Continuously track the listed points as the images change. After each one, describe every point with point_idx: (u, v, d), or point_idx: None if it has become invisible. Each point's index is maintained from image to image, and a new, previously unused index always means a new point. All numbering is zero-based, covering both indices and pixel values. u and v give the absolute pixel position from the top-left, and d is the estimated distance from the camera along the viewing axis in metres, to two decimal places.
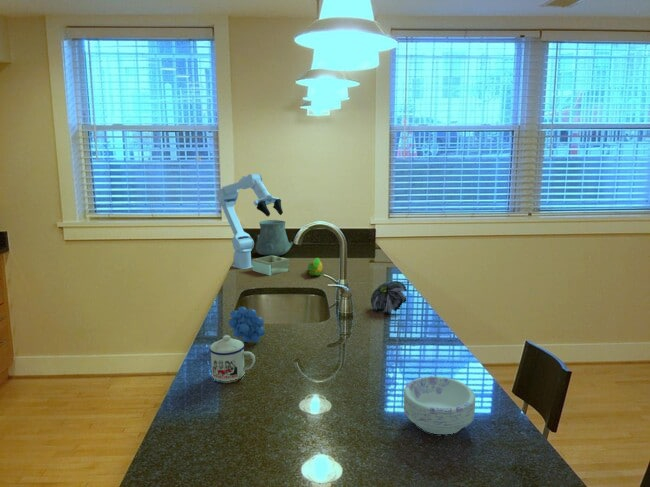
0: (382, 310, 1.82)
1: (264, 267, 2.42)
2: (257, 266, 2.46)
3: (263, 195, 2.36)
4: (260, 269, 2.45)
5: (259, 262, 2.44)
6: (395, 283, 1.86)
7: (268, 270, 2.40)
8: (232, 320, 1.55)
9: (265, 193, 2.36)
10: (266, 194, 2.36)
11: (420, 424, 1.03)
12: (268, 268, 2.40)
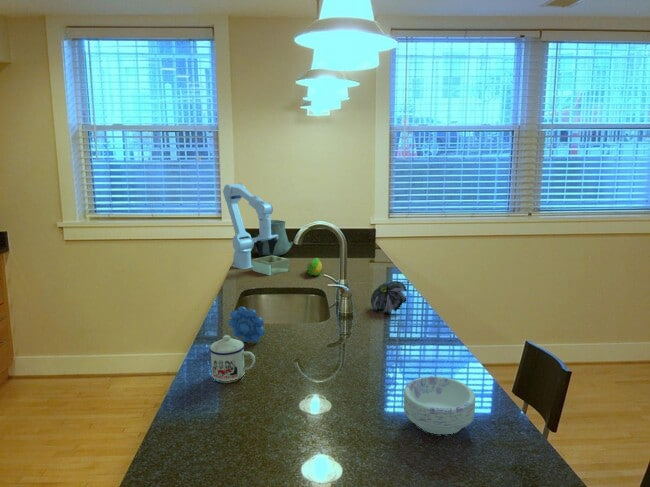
0: (382, 310, 1.82)
1: (264, 267, 2.42)
2: (257, 266, 2.46)
3: (264, 234, 2.41)
4: (260, 269, 2.45)
5: (259, 262, 2.44)
6: (395, 283, 1.86)
7: (268, 270, 2.40)
8: (232, 320, 1.55)
9: (267, 233, 2.41)
10: (267, 234, 2.41)
11: (420, 424, 1.03)
12: (268, 268, 2.40)
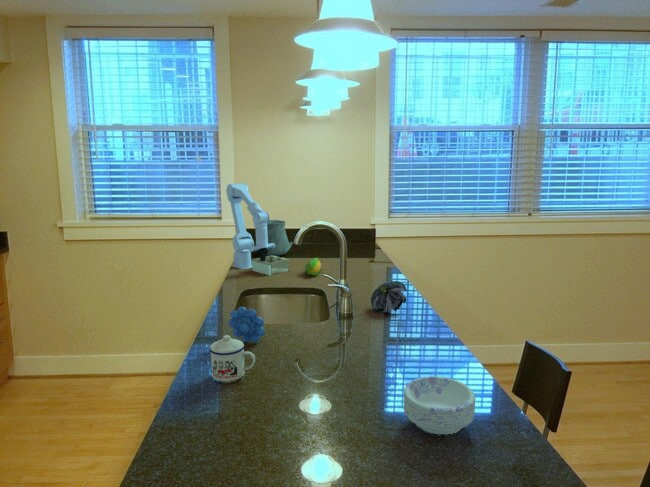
0: (382, 310, 1.82)
1: (264, 267, 2.42)
2: (257, 266, 2.46)
3: (261, 243, 2.40)
4: (260, 269, 2.45)
5: (259, 262, 2.44)
6: (395, 283, 1.86)
7: (268, 270, 2.40)
8: (232, 320, 1.55)
9: (263, 242, 2.40)
10: (264, 243, 2.40)
11: (420, 424, 1.03)
12: (268, 268, 2.40)
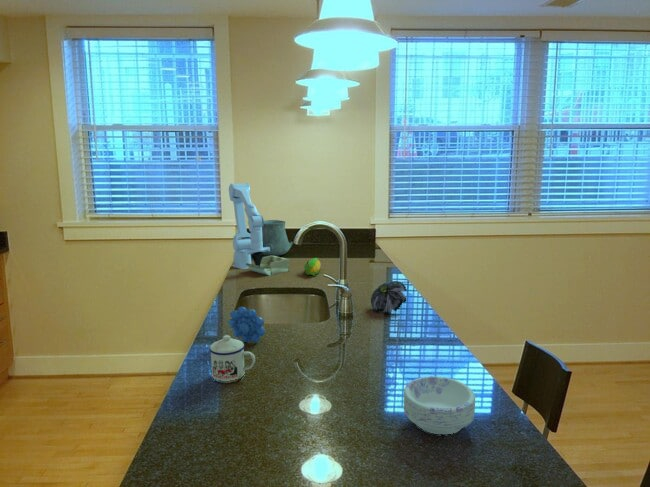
0: (382, 310, 1.82)
1: (260, 270, 2.41)
2: (254, 269, 2.45)
3: (256, 247, 2.38)
4: (258, 271, 2.44)
5: (253, 267, 2.42)
6: (395, 283, 1.86)
7: (266, 273, 2.39)
8: (232, 320, 1.55)
9: (258, 245, 2.38)
10: (259, 247, 2.38)
11: (420, 424, 1.03)
12: (264, 272, 2.38)
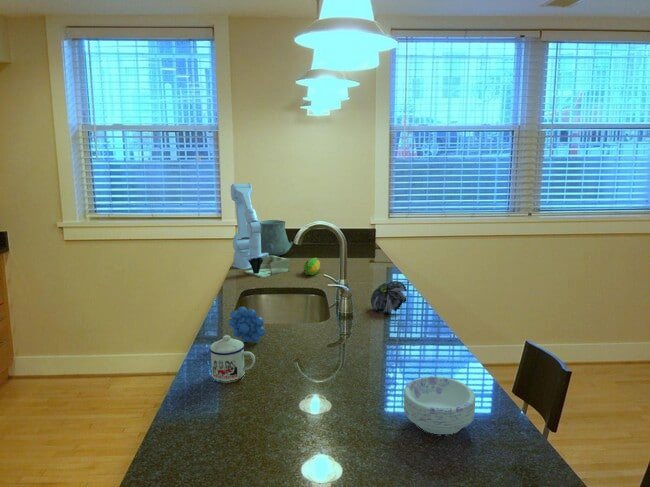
0: (382, 310, 1.82)
1: None
2: None
3: (254, 253, 2.38)
4: None
5: None
6: (395, 283, 1.86)
7: None
8: (232, 320, 1.55)
9: (257, 251, 2.38)
10: (257, 253, 2.38)
11: (420, 424, 1.03)
12: None
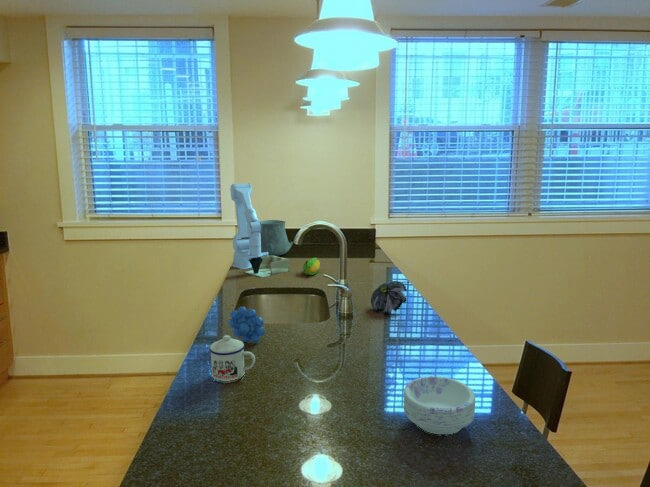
0: (382, 310, 1.82)
1: None
2: None
3: (254, 252, 2.38)
4: None
5: None
6: (395, 283, 1.86)
7: None
8: (232, 320, 1.55)
9: (257, 251, 2.38)
10: (257, 252, 2.38)
11: (420, 424, 1.03)
12: None
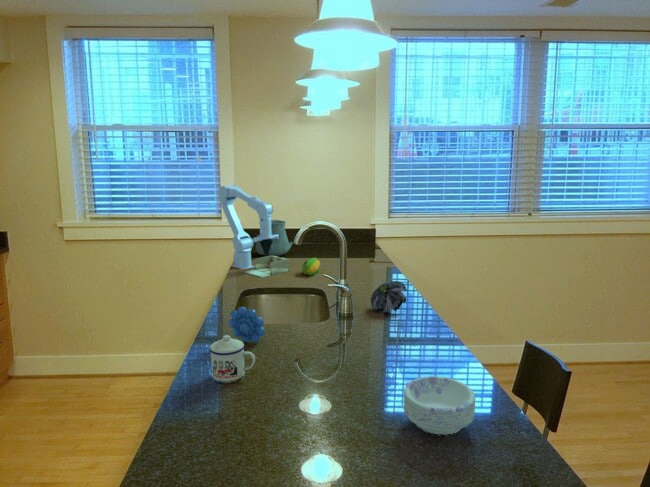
0: (382, 310, 1.82)
1: None
2: None
3: (265, 234, 2.45)
4: None
5: None
6: (395, 283, 1.86)
7: None
8: (232, 320, 1.55)
9: (267, 233, 2.45)
10: (268, 234, 2.45)
11: (420, 424, 1.03)
12: None
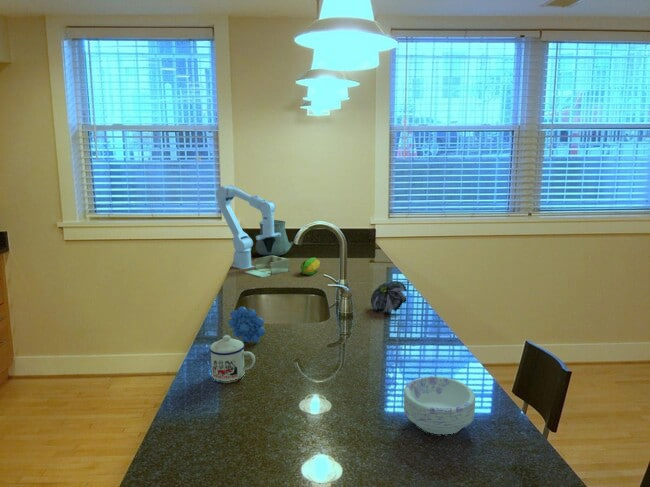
0: (382, 310, 1.82)
1: None
2: None
3: (267, 232, 2.47)
4: None
5: None
6: (395, 283, 1.86)
7: None
8: (232, 320, 1.55)
9: (270, 231, 2.47)
10: (270, 232, 2.47)
11: (420, 424, 1.03)
12: None
